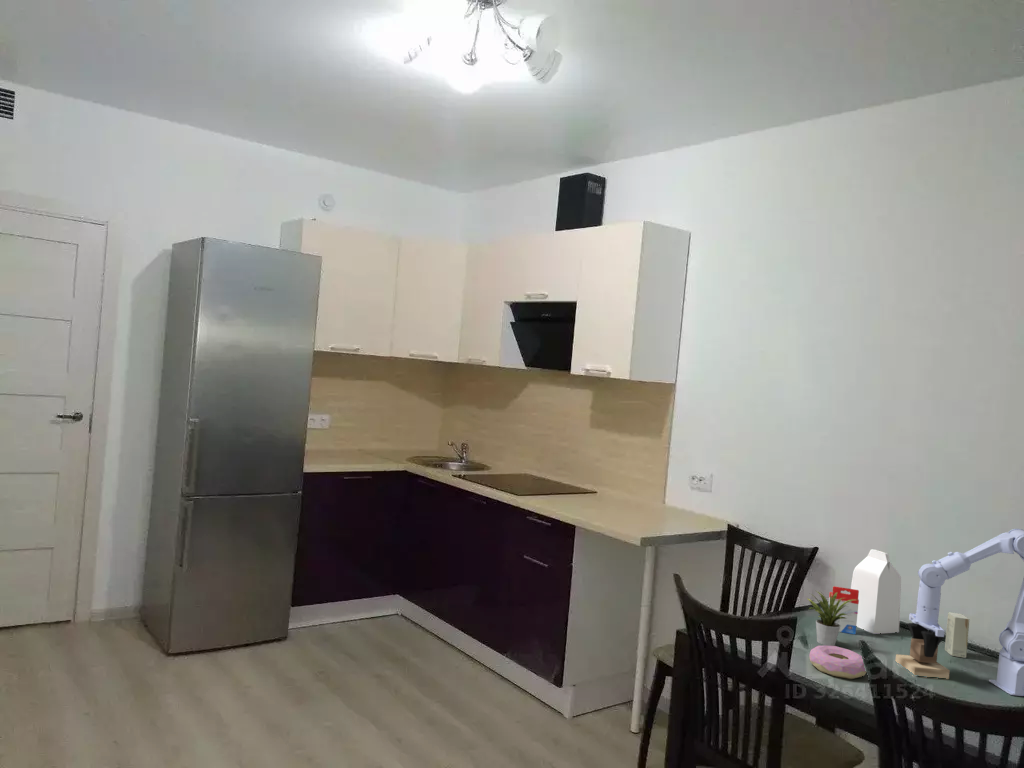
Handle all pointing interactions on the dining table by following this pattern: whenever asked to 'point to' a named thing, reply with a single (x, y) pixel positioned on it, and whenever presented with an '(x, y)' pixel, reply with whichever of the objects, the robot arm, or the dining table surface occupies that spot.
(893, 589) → the milk
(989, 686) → the dining table surface
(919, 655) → the walnut cube
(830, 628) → the house plant
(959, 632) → the skincare box
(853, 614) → the ink box
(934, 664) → the oak block
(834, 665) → the donut
